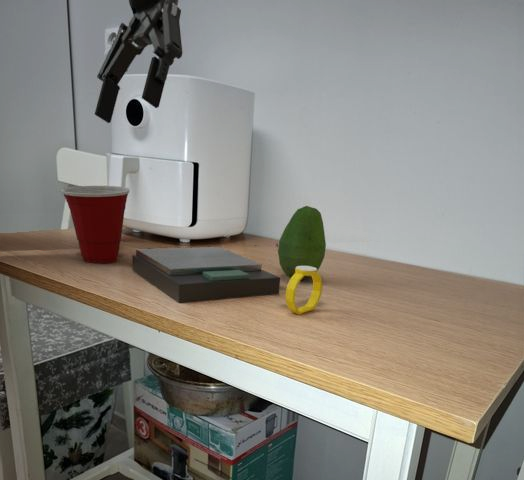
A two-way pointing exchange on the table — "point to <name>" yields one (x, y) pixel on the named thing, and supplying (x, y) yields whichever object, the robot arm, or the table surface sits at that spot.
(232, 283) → the scale
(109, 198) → the plastic cup
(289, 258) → the avocado
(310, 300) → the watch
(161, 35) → the robot arm
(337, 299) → the table surface
